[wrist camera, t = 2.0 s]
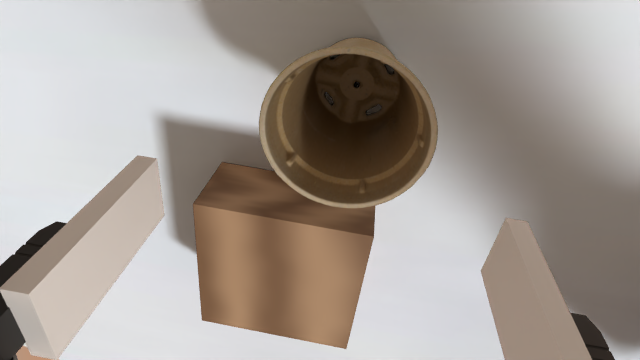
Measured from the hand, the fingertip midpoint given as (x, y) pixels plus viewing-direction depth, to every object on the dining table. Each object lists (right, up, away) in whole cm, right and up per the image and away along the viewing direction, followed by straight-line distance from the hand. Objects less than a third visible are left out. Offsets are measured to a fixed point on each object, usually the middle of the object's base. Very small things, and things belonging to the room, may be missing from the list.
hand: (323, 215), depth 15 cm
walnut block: (-3, -4, +22) cm, 22 cm away
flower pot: (+2, +8, +13) cm, 16 cm away
